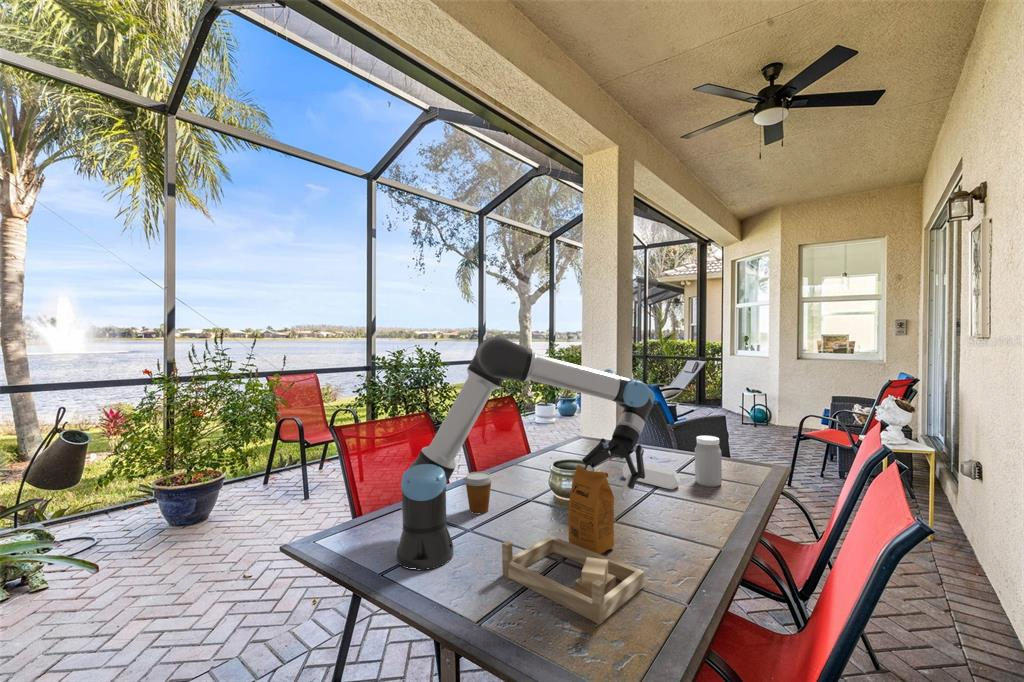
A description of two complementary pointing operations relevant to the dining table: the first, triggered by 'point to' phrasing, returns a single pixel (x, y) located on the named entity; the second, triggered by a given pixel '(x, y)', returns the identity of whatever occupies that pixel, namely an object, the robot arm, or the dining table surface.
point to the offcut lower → (587, 589)
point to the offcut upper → (594, 571)
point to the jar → (708, 461)
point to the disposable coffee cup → (478, 491)
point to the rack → (588, 607)
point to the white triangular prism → (656, 475)
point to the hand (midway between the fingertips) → (601, 492)
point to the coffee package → (591, 511)
